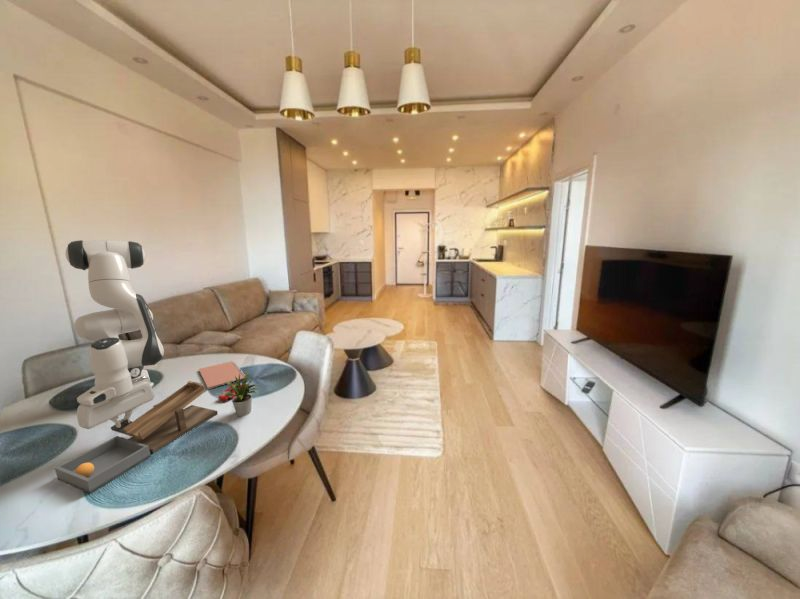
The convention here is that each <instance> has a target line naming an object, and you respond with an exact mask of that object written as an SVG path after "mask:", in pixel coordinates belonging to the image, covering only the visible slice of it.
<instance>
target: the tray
mask: <svg viewBox="0 0 800 599" xmlns="http://www.w3.org/2000/svg"><path fill="white" fill-rule="evenodd" d="M151 456H152V455H151V453H150V450H149V446H148V445H145V444H141V443H138V442H135V441H132V440H129V438H124V437H122V436H119V435H115V436H114V437H112V438H110V439H108V440H106V441H104V442H103V443H100V444H98V445H96V446H95V447H93V448H91V449H89V450H87V451H85V452H82V453H81V454H79V455H77V456H75V457H74V458H71V459H69V460H68V461H65V462H63V463H61V464H59V465H57V466H56V467H54V471H55V475H56V477H57V481H60V482H62V483H63V484H67V485H69V486H71V487H74V488H76V489H79V490H80V491H83V492H85V493H88V494H90V495H91V494H93V493H94V492H96V491H98V490H99V489H100V488H103V487H104V486H105V485H106V486H107V484H109V483H111V482H112V481H114V480H115V479H118V478H119V477H120V476H122V475H123V474H124V475H125V473H127V472H128V471H130V470H132V469H134V468H135V467H137V466H138V465H139V464H141V463H143V462H145V461H146V460H148V459H150V458H151ZM149 457H150V458H149ZM83 463H92V464H93V465H94V471H93V473H92V474H91V475H89V476H88V477H84V476H82V475H79V474H77V473H75V470H76V468H77V467H78V466H79V465H81V464H83Z"/></svg>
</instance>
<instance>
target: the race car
mask: <svg viewBox="0 0 800 599" xmlns="http://www.w3.org/2000/svg"><path fill="white" fill-rule="evenodd" d="M235 385H237V383H236V384H234V386H235ZM241 385H242V382H241ZM230 387H231V386H228V388H227V389H225V390H224V392H222V393H220V394H219V395H218V401H219V402H221V403H222V402H223V403H224V402H225V403H226V402H230V401H232V399H233V398H234V397H235V396H234V395H236V393H235V392H234V390H232V388H230ZM230 389H231V390H230ZM226 393H232V394H234V395H232V396H228V397H226V396H225V394H226ZM236 396H237V395H236ZM225 397H226V398H225Z"/></svg>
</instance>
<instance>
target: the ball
mask: <svg viewBox="0 0 800 599" xmlns="http://www.w3.org/2000/svg"><path fill="white" fill-rule="evenodd" d="M93 471H94V465H93V464H92V463H83V464H81V465H79V466H78V467H77V468H76V470H75V473H77V474H79V475H82V476H84V477H88V476H89V475H91V474H92V473H93Z"/></svg>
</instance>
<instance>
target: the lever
mask: <svg viewBox="0 0 800 599" xmlns="http://www.w3.org/2000/svg"><path fill="white" fill-rule="evenodd" d="M204 393H206V388H205V386H204V385H202V382H201V383H200V382H196V381H190V380H188V382H187V383H186V384H184V385H183V386H182V387H180V388H179V389H177V390H176V391H174V392H173V393H172V394H171V395H169V396H167V397H165V399H163V400H162V401H160V402H158V403H159V404H158V403H156V404H157V405H156V404H155V405H156V406H155V407H153V406H152V408H150V409H149V410H147V411H146V412H145V413H142V415H140V416H138V417H137V418H136V419H135V420H133V421H131V420H130V423H128V424H126V425H124V426H122V427H120V428H117V427H116V424H115V423H114V425H112V426H110V429H111V431H113V432H117V433H119V434H123V435H126V436H129V437H136V438H139V439H142V440H143V439H144V438H145V437H147V436H148V435H149V434H151V433H152V432H153V431H155V430H156V429H157V428H158V427H160V426H161V425H162V424H164V423H165V422H166V421H168V420H169V419H170V418H172V417H173V416H174V415H175V411H176V410H178V409H180V408H181V409H185V408H187V407H188V405H190V404H191V403H192V402H194V401H195V400H196V399H197V398H199V397H201V395H203V394H204Z"/></svg>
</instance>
